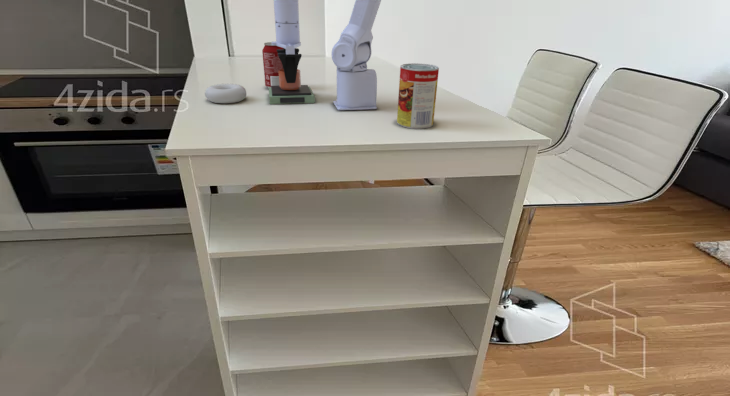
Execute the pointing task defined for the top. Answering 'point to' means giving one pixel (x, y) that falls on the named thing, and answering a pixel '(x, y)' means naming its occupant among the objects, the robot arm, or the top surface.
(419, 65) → the canned food
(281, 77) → the orange cup
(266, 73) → the soda can
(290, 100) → the scale
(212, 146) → the top surface
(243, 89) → the donut
